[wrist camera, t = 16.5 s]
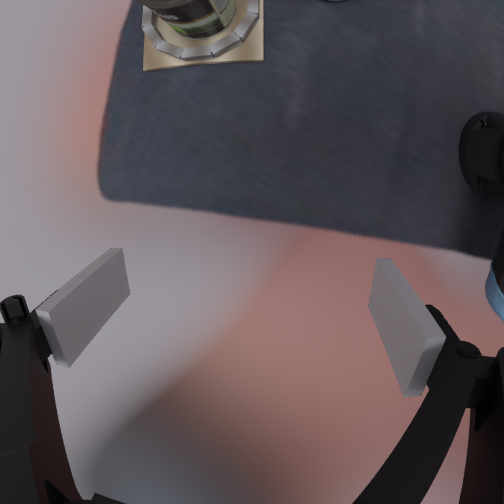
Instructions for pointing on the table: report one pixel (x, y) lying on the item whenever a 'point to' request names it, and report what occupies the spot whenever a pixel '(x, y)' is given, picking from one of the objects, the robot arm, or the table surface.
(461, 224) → the table surface
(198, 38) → the coffee can
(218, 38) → the ring board
